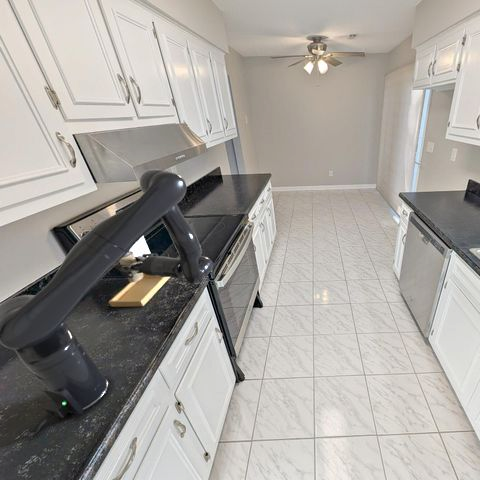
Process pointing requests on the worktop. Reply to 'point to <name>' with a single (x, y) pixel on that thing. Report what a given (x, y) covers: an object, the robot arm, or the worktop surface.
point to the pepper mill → (127, 260)
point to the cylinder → (140, 248)
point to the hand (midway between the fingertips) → (123, 263)
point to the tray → (138, 291)
